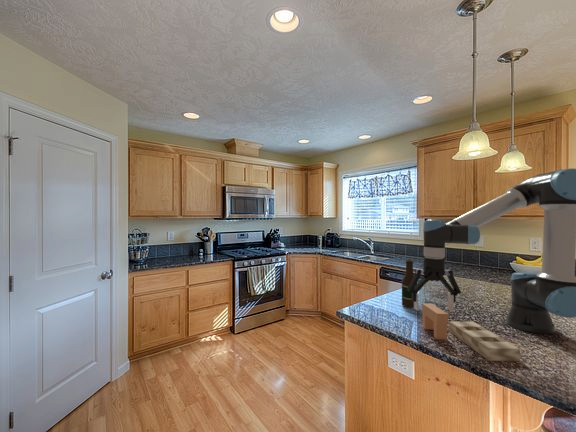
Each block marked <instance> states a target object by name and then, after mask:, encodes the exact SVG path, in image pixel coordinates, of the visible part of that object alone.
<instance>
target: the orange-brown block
mask: <svg viewBox="0 0 576 432" xmlns="http://www.w3.org/2000/svg"><path fill="white" fill-rule="evenodd" d="M421 312H422V328H423V329H424V330H433V338H434V339H435V340H448V325H449V313H447V312H446V311H444V310H443V309H441V308H439V307H438V306H437V305H435V304H433V303H421Z"/></svg>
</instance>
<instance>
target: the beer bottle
mask: <svg viewBox="0 0 576 432" xmlns="http://www.w3.org/2000/svg"><path fill="white" fill-rule="evenodd" d="M413 264H414V261H413V260H410V259H409V260H407V259H406V260H405V275H404V276H403V278H402V280H401V304H402V307H405V308H408V309H414V301H412V292H409V291H408V290H407V288H408V286H409V284H410V282H411V280H412V278H413V276H414V275H415V273H414V266H413ZM416 285H417V284H416ZM416 285H415V286H416Z"/></svg>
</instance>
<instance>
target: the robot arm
mask: <svg viewBox="0 0 576 432" xmlns="http://www.w3.org/2000/svg"><path fill="white" fill-rule="evenodd" d="M534 204H535V205H536V204H538V207H540V208H541V209H542V210H543V211H544V213H543V231H542V232H543V233H542V234H543V237H542V255H541V256H542V257H541V259H542V261H541V272H539V273H535V272H513V273H512V274H511V277H510V285H511V287H510V289H511V293H510V294H511V298H510V299H511V300H510V301H511V304H510V305H511V306H510V308H509V311H508V314H507V315H506V324H507V325H509V326H510V327H512V328H515V329H518V330H520V331H524V332H529V333H533V334H537V335H538V334H540V335H552V334H555V332H556V331H555V330H556V329H555V328H556V327H555V324H554V322H553V320H552V317H551V315H550V313H551V314H552V315H555V316H559V317H562V318H569V319H570V318H571V319H572V318H576V276H575V275H576V274H575V273H576V168H565V169H562V168H561V169H557V170H553V171H549V172H545V173H539V174H536V175H534V176H531V177H529V178H527V179H525V180H523V181H521V182H520V183H518V184H515V185H514V186H512V187H511V188H508V189H507V190H506V192H505V193H504V194H502V195H500V196H497V197H496V198H493V199H491V200H490V201H488V202H486V203H484V204H482V205H480V206H478V207H476V208H474V209H472V210H470V211H468V212H466V213H464V214H462V215H460V216H459V217H457V218H454V219H453V220H450V221H448V222H446V221H445V219H426V220H424V223H423V224H424V225H423V256H424V257H423V263H422V265H423V269H420V268H415V270H414V276H413V278H412V280H411V282H410V284H409V286H408V288H407V290H408V291H409V292H412V301H414V308H413V309H414V310H416V312H417V311H420V309H419V308H420V307H419V306H420V295H419V293H418V292H420V290H421V289H422V288H423V287H424V286H425V285H426V284H427V283H428V282H429V281H430V282H435V281H436V282H441V284H442V285H443V286H444V288H446V290H447V291H448V292H449V293H447V310H448V311H450V312H452V313H453V312H454V310H455V309H454V305H455V303H456V301H457V300H456V299H457V296H458V295H459V294H461V293H462V291H461V289H460V287H459V284H458V283H457V281H456V279H455V277H454V273H453V272H454V271H453V270H451V269H448V268H447V269H445V265H446V263H445V262H446V260H445V259H444V258H445V257H446V244H458V245H475V244H478V242H480V239H481V231H480V229H479V228H480V227H482V226H484V225H486V224H488V223H489V222H492V221H494V220H496V219H498V218H499V217H502V216H504V215H506V214H508V213H511V212H513V211H515V210H516V209H518V208H519V209H524V208H526V207H528V206H531V205H534ZM422 275H423V276H422ZM421 276H422V277H421ZM444 276H446V277H447V279H448V281H447V279H446V278H445V277H444ZM420 278H421V279H420ZM448 282H449V283H448ZM416 284H417V285H416ZM415 285H416V286H415Z"/></svg>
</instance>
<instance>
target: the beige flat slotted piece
mask: <svg viewBox="0 0 576 432" xmlns="http://www.w3.org/2000/svg"><path fill="white" fill-rule="evenodd" d="M448 329H449V331H448V332H449V333H451V334H452V335H453V336H454V337H457V338H458V339H459V340H460V341H461V342H463V343H464V344H466V345H467V346H468V347H469V348H471V349H472V350H473V351H475V352H476V353H478V354H479V355H480V356H482V357H484V358H485V359H486V360H487V361H491V362H493V361H494V362H495V361H498V362H499V361H500V362H501V361H503V362H521V348H519V347H517V345H514V344H512V343H511V342H510V341H507V340H506V339H504V338H502V337H501V336H499V335H497V334H495V333H494V332H492V331H490V330H489V329H487V328H486V327H483V326H482V325H480V324H478V323H476V322H475V321H448Z"/></svg>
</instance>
